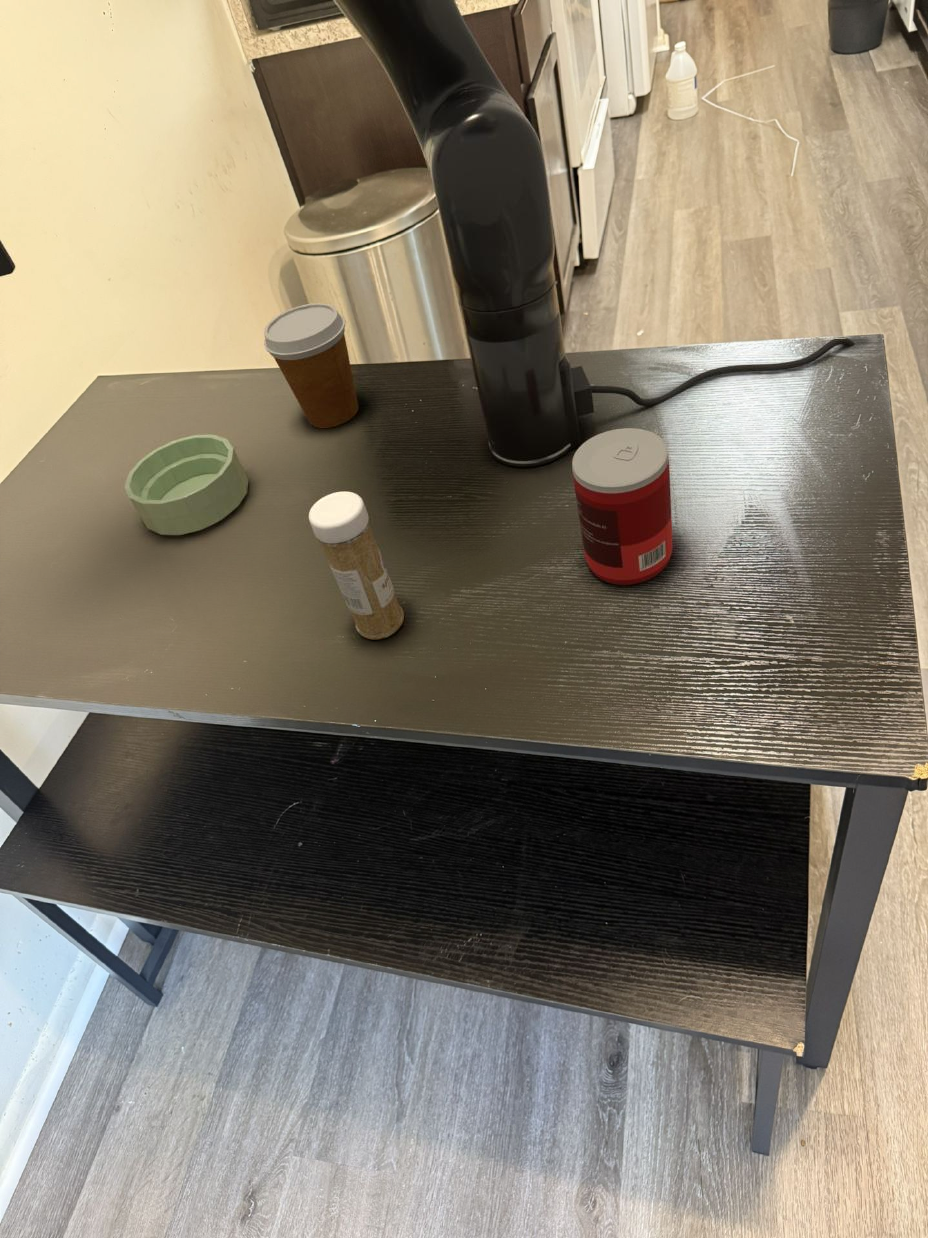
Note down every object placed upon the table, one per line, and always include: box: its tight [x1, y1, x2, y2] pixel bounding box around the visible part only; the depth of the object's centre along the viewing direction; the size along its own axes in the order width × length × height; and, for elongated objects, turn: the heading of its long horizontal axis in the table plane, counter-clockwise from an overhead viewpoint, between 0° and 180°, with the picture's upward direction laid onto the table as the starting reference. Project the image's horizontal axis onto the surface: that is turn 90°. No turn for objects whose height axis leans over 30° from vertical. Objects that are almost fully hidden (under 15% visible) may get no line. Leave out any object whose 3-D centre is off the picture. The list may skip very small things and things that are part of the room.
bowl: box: [124, 434, 249, 536], centre depth 96 cm, size 12×12×5 cm
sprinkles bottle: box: [308, 491, 405, 640], centre depth 73 cm, size 5×5×13 cm
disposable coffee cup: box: [263, 302, 359, 429], centre depth 101 cm, size 10×10×12 cm
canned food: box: [571, 427, 674, 586], centre depth 73 cm, size 8×8×11 cm
